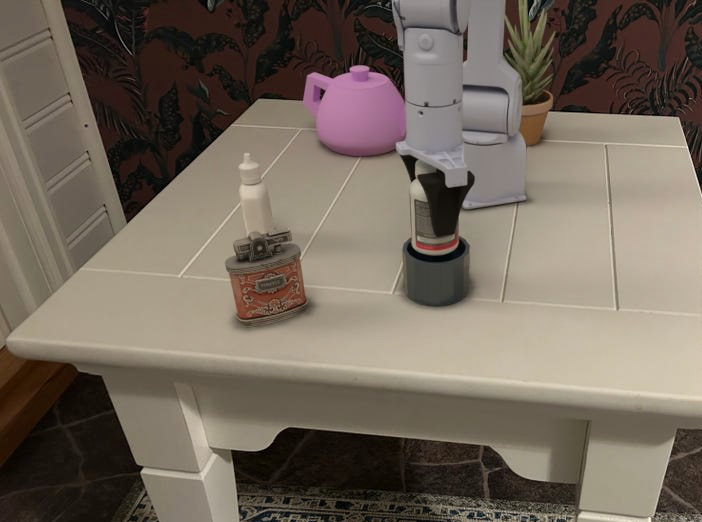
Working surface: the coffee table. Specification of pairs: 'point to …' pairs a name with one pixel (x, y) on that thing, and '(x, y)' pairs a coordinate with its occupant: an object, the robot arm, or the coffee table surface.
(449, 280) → the tube
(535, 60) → the potted plant
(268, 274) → the lighter
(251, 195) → the eye dropper bottle
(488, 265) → the coffee table surface
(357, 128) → the teapot
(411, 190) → the pill bottle
